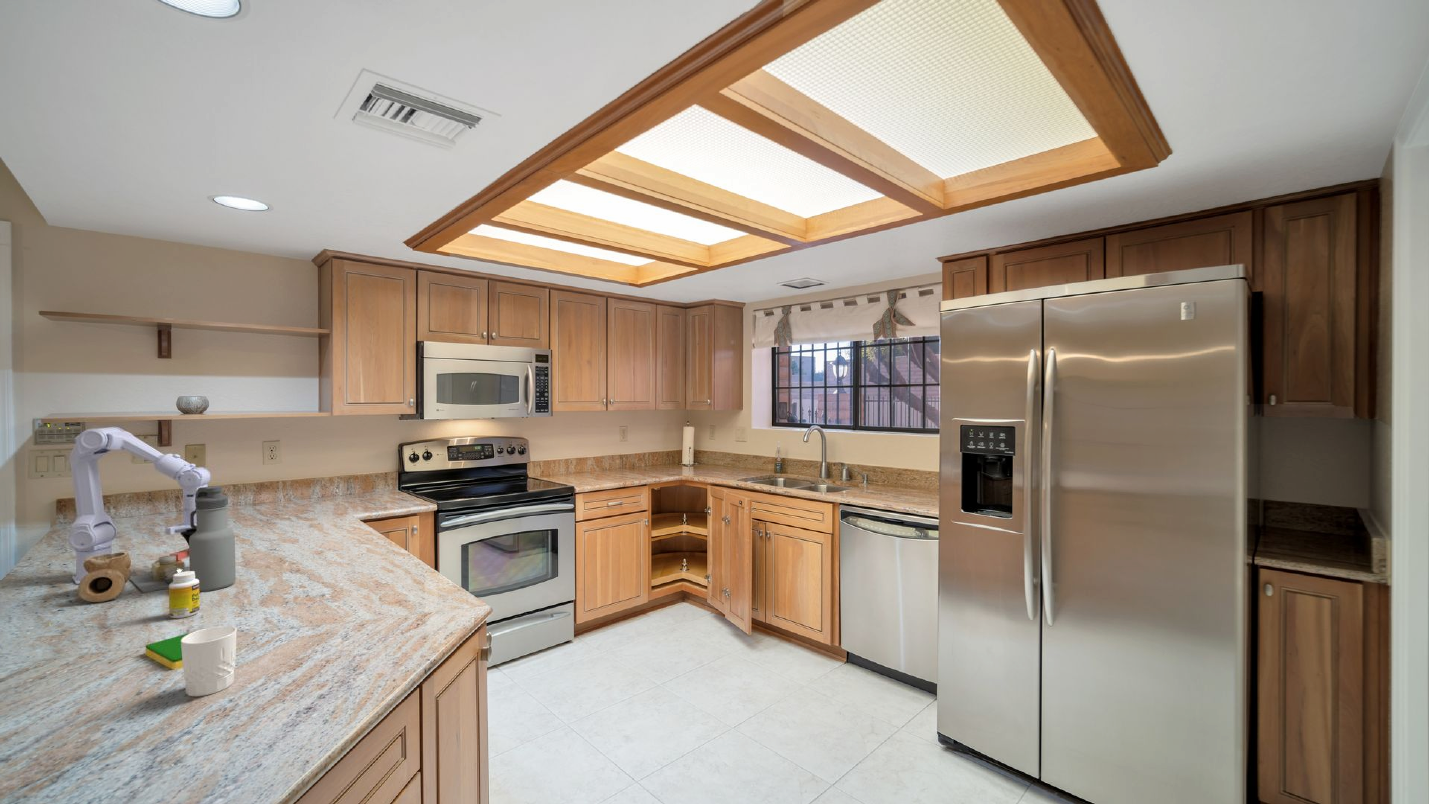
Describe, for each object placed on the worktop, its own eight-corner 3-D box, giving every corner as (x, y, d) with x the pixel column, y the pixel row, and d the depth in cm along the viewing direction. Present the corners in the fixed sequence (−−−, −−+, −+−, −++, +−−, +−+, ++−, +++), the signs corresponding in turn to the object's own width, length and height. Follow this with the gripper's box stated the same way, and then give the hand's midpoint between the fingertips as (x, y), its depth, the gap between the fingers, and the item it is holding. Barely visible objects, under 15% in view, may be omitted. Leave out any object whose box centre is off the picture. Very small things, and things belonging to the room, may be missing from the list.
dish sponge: (188, 643, 130) (188, 632, 130) (217, 657, 123) (217, 646, 123) (145, 656, 123) (144, 644, 123) (173, 671, 117) (172, 659, 117)
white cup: (204, 678, 113) (203, 626, 113) (247, 676, 114) (246, 625, 114) (170, 699, 106) (168, 644, 105) (217, 697, 106) (216, 642, 106)
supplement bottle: (195, 616, 144) (194, 575, 143) (165, 620, 141) (164, 578, 141) (203, 609, 149) (202, 568, 148) (174, 612, 146) (173, 571, 146)
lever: (168, 564, 170) (168, 558, 170) (155, 564, 170) (155, 558, 170) (202, 552, 182) (202, 547, 182) (190, 553, 182) (190, 547, 182)
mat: (128, 578, 172) (128, 577, 172) (204, 564, 186) (204, 563, 186) (143, 593, 160) (143, 591, 160) (222, 577, 174) (222, 575, 174)
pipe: (75, 607, 150) (74, 568, 149) (87, 590, 162) (86, 554, 162) (126, 599, 155) (125, 561, 155) (133, 583, 168) (132, 548, 168)
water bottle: (182, 588, 164) (180, 488, 163) (224, 578, 172) (222, 483, 172) (200, 594, 159) (198, 491, 158) (242, 584, 167) (240, 485, 167)
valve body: (148, 576, 174) (148, 560, 174) (175, 571, 179) (175, 556, 179) (161, 587, 164) (161, 571, 164) (189, 582, 169) (189, 566, 169)
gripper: (176, 513, 171) (178, 560, 171) (231, 504, 185) (232, 547, 185) (160, 512, 173) (161, 558, 173) (215, 503, 187) (216, 545, 187)
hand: (197, 552), depth 179 cm, fingers closed
